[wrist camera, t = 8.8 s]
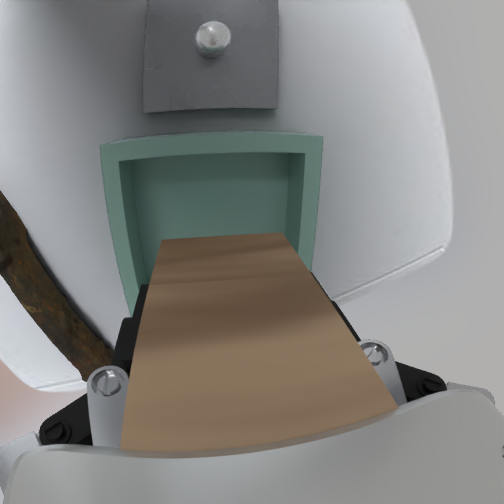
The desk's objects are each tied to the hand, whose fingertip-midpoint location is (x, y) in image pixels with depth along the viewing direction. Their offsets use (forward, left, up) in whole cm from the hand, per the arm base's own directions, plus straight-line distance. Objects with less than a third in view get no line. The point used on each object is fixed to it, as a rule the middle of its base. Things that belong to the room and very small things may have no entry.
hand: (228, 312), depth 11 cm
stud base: (-12, 0, -10) cm, 15 cm away
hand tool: (+4, -15, -10) cm, 19 cm away
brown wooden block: (0, 0, -2) cm, 2 cm away
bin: (0, 0, -10) cm, 10 cm away
